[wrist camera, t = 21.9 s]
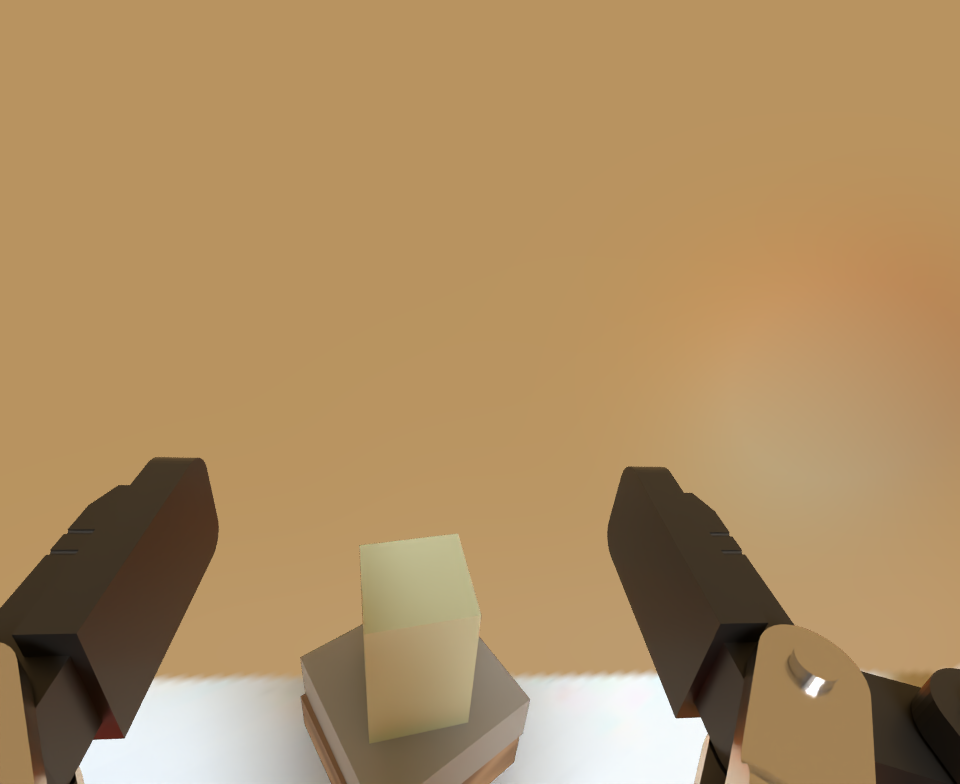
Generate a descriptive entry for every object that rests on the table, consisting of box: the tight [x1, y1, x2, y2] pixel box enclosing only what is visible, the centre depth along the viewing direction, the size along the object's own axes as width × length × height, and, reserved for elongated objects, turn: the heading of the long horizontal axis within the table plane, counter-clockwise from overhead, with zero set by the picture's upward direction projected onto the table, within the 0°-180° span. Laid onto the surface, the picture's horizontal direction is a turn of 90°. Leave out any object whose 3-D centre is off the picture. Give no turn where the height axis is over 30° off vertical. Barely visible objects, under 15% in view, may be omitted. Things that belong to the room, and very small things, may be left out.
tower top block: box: [300, 624, 530, 784], centre depth 35 cm, size 11×11×4 cm
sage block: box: [359, 534, 481, 744], centre depth 31 cm, size 6×6×10 cm
